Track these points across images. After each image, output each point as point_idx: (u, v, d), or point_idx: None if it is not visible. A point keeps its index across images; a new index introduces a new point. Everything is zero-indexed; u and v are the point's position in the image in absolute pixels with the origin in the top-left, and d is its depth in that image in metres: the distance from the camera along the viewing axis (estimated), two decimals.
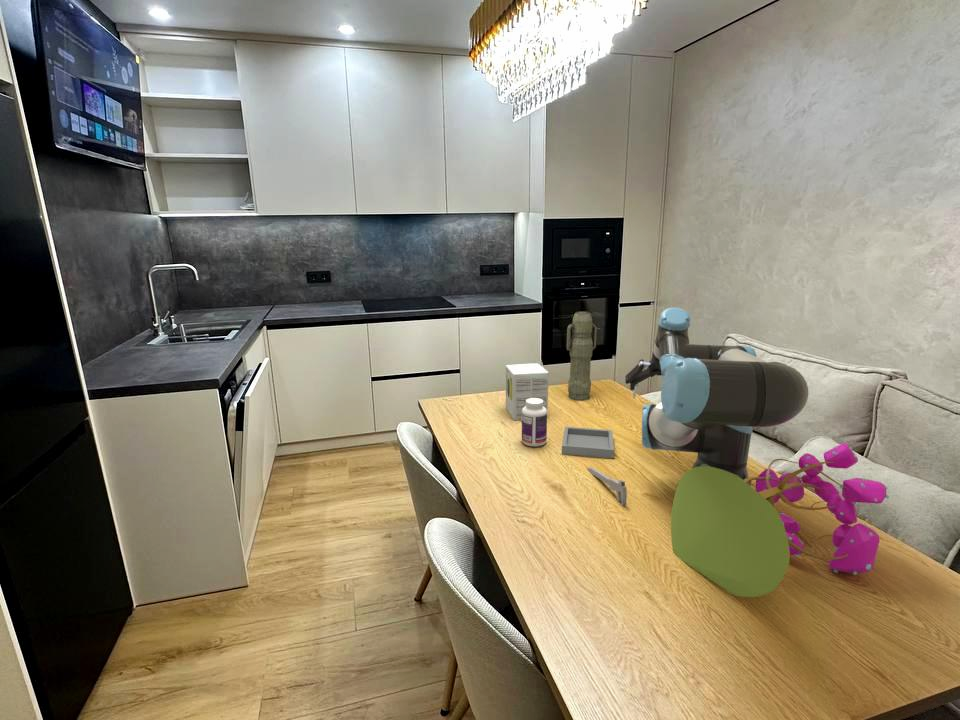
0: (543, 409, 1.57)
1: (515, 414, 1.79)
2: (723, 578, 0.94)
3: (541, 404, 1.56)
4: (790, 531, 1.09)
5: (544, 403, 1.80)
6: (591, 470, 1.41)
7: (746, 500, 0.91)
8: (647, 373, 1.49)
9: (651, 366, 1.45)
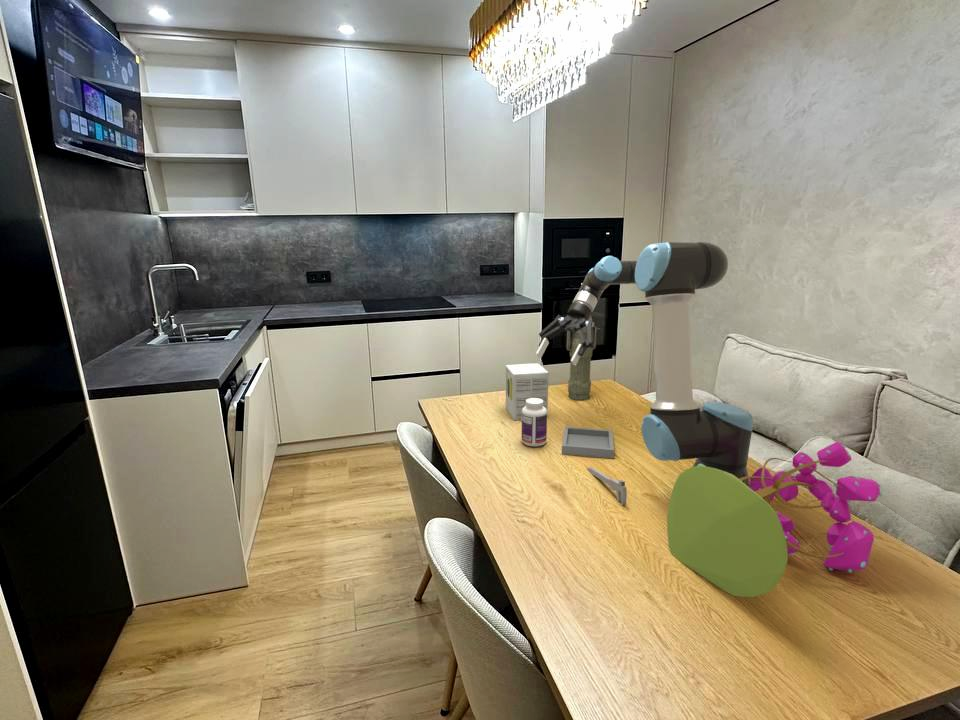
0: (543, 409, 1.57)
1: (515, 414, 1.79)
2: (721, 578, 0.94)
3: (541, 404, 1.56)
4: (785, 530, 1.10)
5: (544, 403, 1.80)
6: (591, 470, 1.41)
7: (743, 500, 0.91)
8: None
9: (565, 317, 1.69)
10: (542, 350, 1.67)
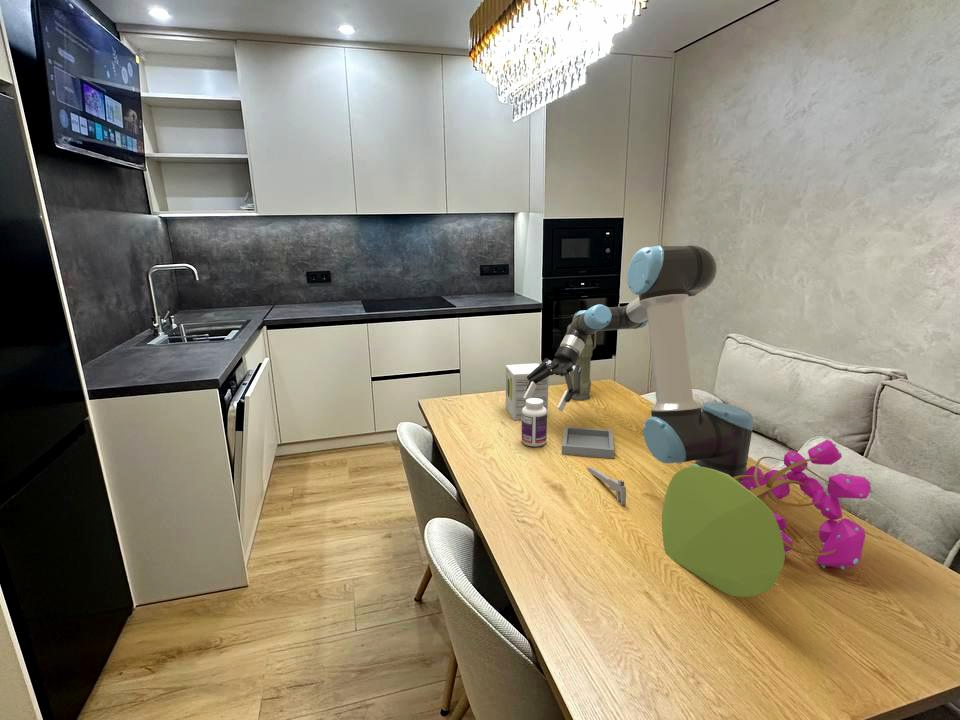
0: (543, 409, 1.57)
1: (515, 414, 1.79)
2: (717, 578, 0.94)
3: (541, 404, 1.56)
4: None
5: (544, 403, 1.80)
6: (591, 470, 1.41)
7: (739, 500, 0.91)
8: None
9: (553, 360, 1.69)
10: (530, 394, 1.68)
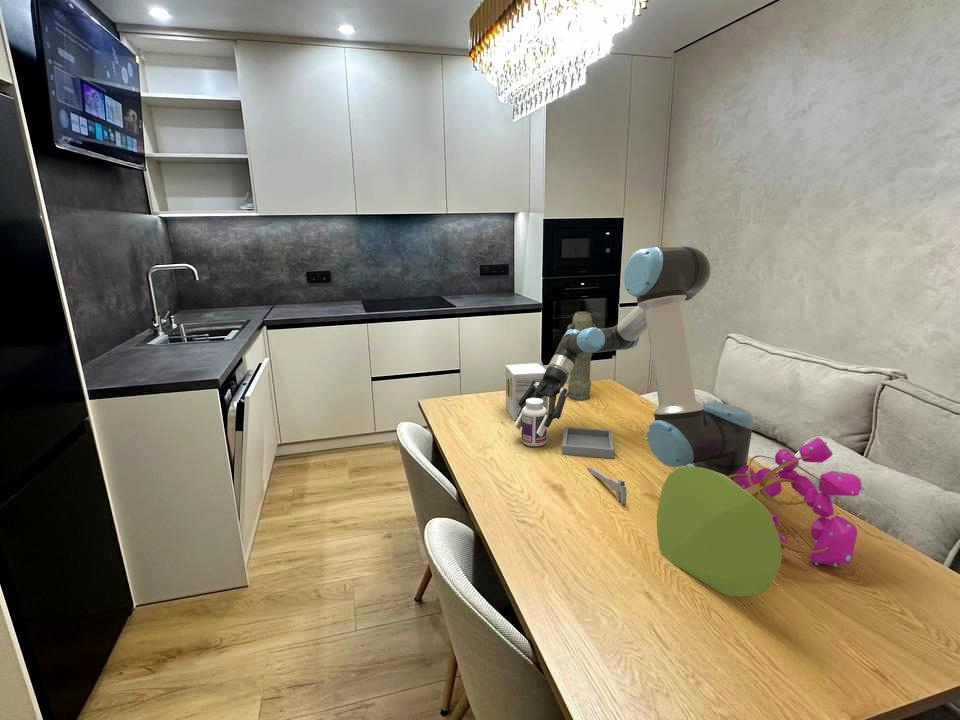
0: (543, 409, 1.57)
1: (515, 414, 1.79)
2: (714, 578, 0.94)
3: (541, 404, 1.56)
4: None
5: (544, 403, 1.80)
6: (591, 470, 1.41)
7: (735, 499, 0.91)
8: None
9: (540, 381, 1.65)
10: (521, 421, 1.61)
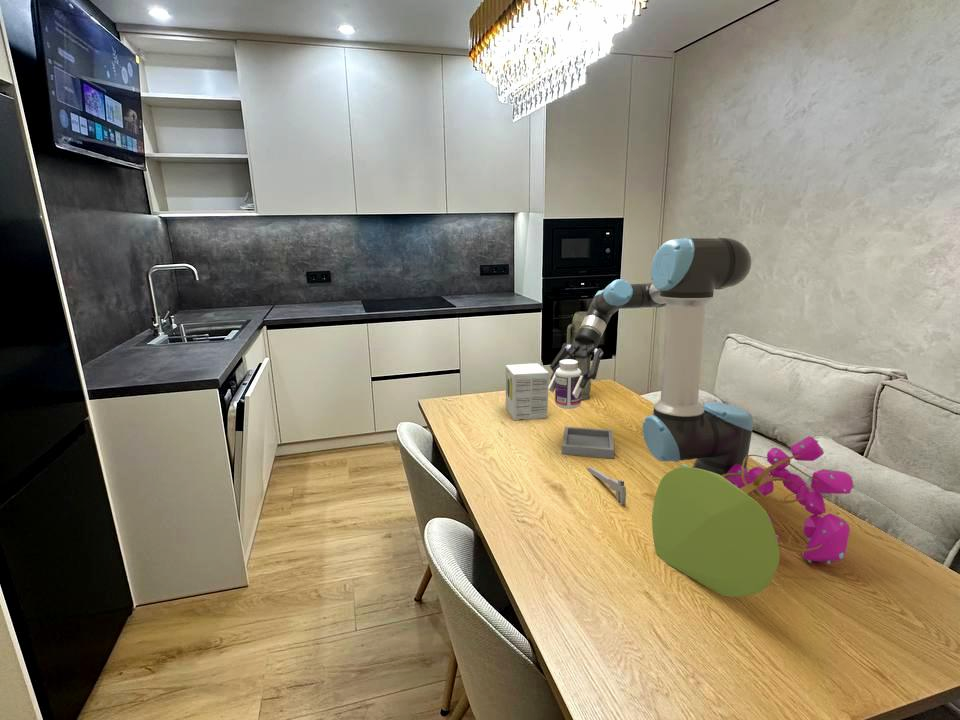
0: (578, 370, 1.52)
1: (515, 414, 1.79)
2: (711, 579, 0.94)
3: (576, 364, 1.51)
4: None
5: (544, 403, 1.80)
6: (591, 470, 1.41)
7: (732, 500, 0.91)
8: None
9: (572, 343, 1.60)
10: (554, 384, 1.56)
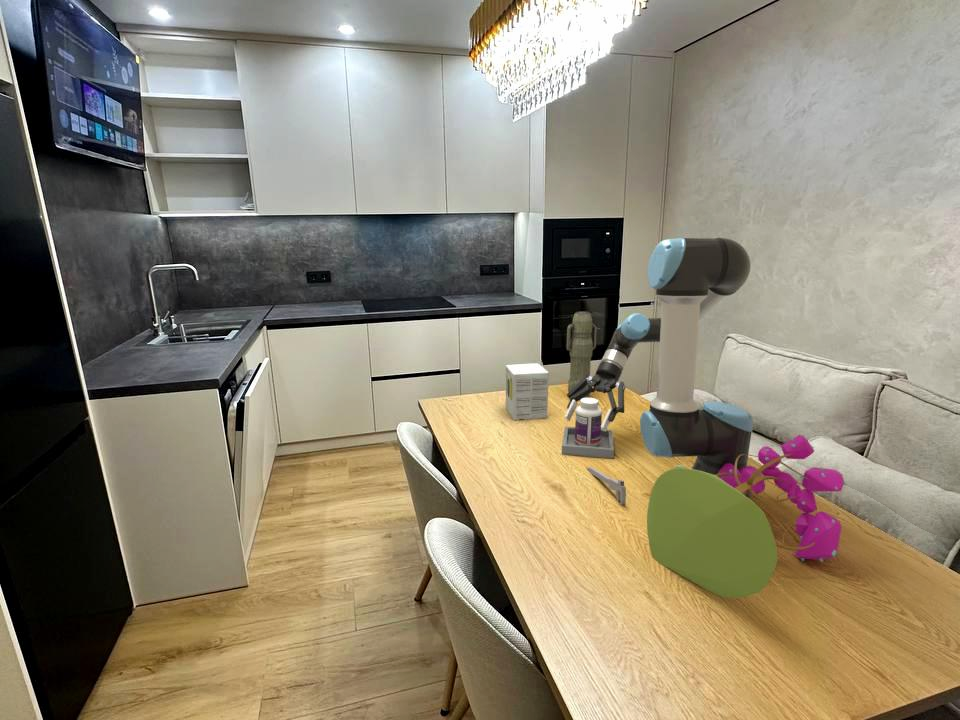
0: (598, 409, 1.54)
1: (515, 414, 1.79)
2: (708, 580, 0.94)
3: (596, 404, 1.53)
4: None
5: (544, 403, 1.80)
6: (590, 470, 1.41)
7: (728, 500, 0.91)
8: None
9: (594, 376, 1.61)
10: (571, 412, 1.60)
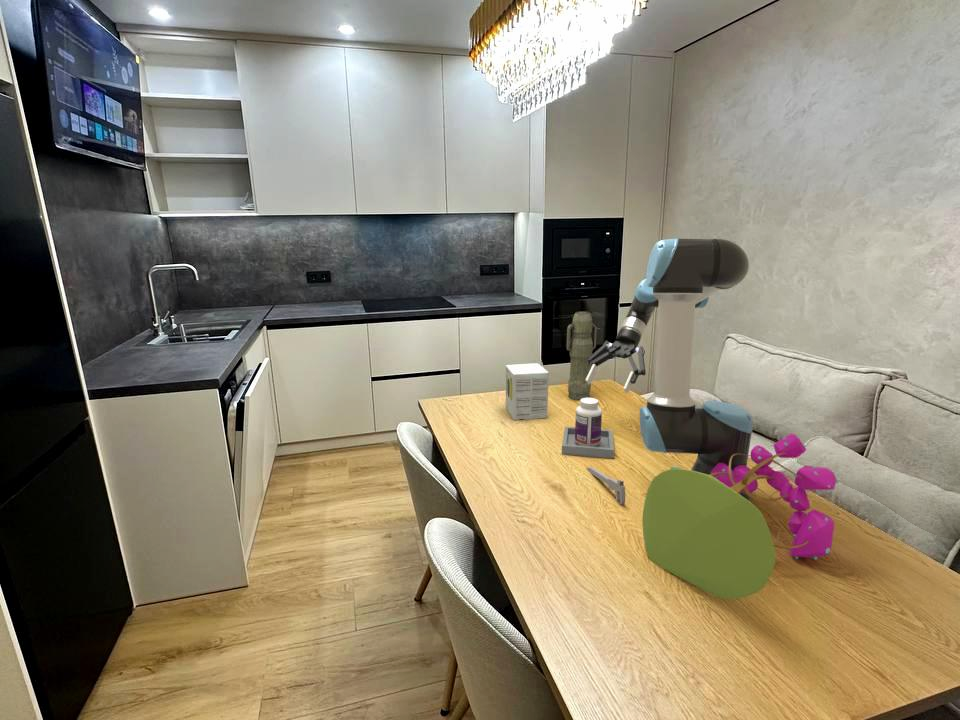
0: (598, 409, 1.54)
1: (515, 414, 1.79)
2: (706, 581, 0.93)
3: (596, 404, 1.53)
4: None
5: (544, 403, 1.80)
6: (590, 469, 1.41)
7: (725, 501, 0.91)
8: None
9: (614, 343, 1.68)
10: (591, 376, 1.66)
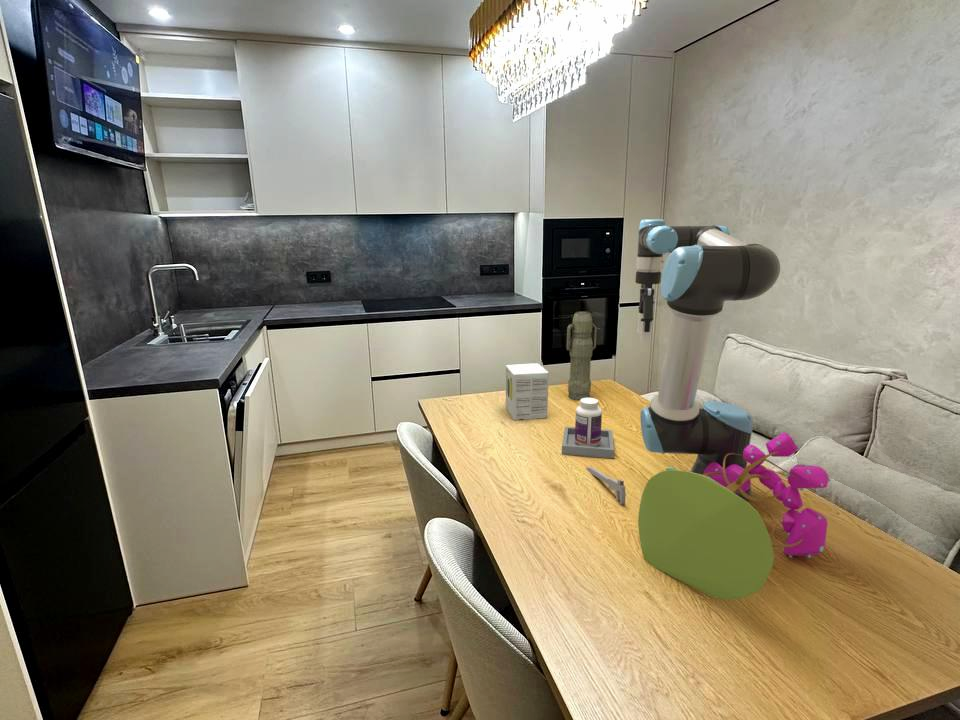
0: (598, 409, 1.54)
1: (515, 414, 1.79)
2: (703, 582, 0.93)
3: (596, 404, 1.53)
4: None
5: (544, 403, 1.80)
6: (590, 469, 1.41)
7: (722, 502, 0.91)
8: None
9: None
10: None
